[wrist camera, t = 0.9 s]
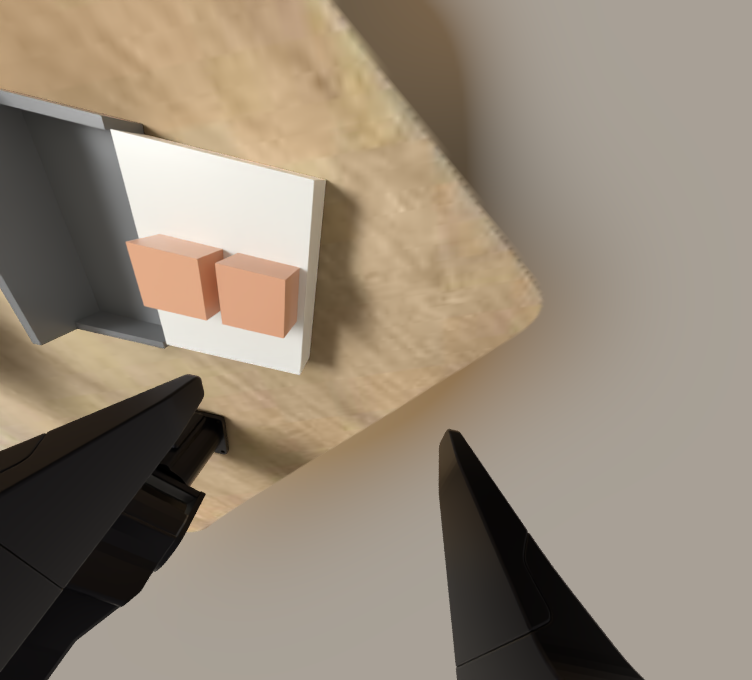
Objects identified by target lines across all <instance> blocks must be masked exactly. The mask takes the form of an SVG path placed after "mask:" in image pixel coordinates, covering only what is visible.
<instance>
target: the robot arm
mask: <svg viewBox="0 0 752 680" xmlns="http://www.w3.org/2000/svg"><path fill="white" fill-rule="evenodd" d="M203 397H204V389H203V385H202V381H201V378H200V377H199V376H195V375H191V374H187V375H184V376H181V377H179V378H176V379H174V380H171V381H169V382H167V383H164V384H162V385H159V386H157V387H155V388H152V389H150V390H147V391H145V392H143V393H140V394H138V395H135V396H133V397H131V398H128V399H126V400H123V401H121V402H118V403H116V404H114V405H111V406H109V407H106V408H104V409H102V410H99V411H97V412H94V413H92V414H90V415H87V416H85V417H82V418H80V419H78V420H75V421H73V422H70V423H68V424H65V425H63V426H61V427H58V428H56V429H53V430H51V431H49V432H47V434H45V433H44V434H41V435H39V436H36V437H34V438H32V439H29V440H27V441H24V442H22V443H19V444H17V445H14V446H12V447H9V448H7V449H4V450H2V451H0V680H48V679H49V677H50V676H51V674H52V673H53V672H54V670H55V669H56V668H57V666H58V665H59V663H60V662H61V661H62V659H63V658H64V656H65V655H66V653H67V652H68V651H69V650H70V648H71V647H72V645H73V644H74V643H75V642H76V641H77V640H78V639H79V638H80V637H82V636H83V635H84V634H85V633H87V632H88V631H89V630H91V629H92V628H93V627H94V626H96V625H97V624H98V623H100V622H101V621H102V620H104V619H105V618H106V617H107V616H109V615H110V614H111V613H112V612H114V611H115V610H116V609H118V608H119V607H122V606H124V605H125V604H126V603H128V602H129V601H130V600H131V599H132V598H133V597H135V596H136V595H137V594H138V593H139V592H140V591H141V590H142V589H143V587H144V585H145V583H146V582H147V580H148V579H149V577H150V575H151V574H152V573H153V571H154V572H155V571H157V570H158V569H159V568H161V567H162V565H164V563H165V562H166V561H167V560H168V559H169V557H170V556H171V555H172V553H173V552H174V551H175V549H176V548H177V547H178V545H179V544H180V542H181V540H182V539H183V537H184V535H185V533H186V531H187V530H188V528H189V526H190V524H191V522H192V520H193V518H194V516H195V514H196V512H197V510H198V508H199V506H200V504H201V502H202V500H203V498H204V497H205V495H206V494H205V493H203V492H202V491H201V492H199V491H197V490H195V489H194V488H192V487H190V486H191V484H192V483H193V481H194V480H195V478H196V477H197V476H198V474H199V473H200V471H201V470H202V469H203V467H204V466H205V464H206V463H207V461H208V460H209V459H210V457H211V456H212V454H213V453H214V452H216V453H220V454H227V452H228V451H229V448H228V441H227V434H226V427H225V421H224V418H222V417H221V416H217V415H212V414H208V413H203V412H199V411H196V409H197V408H198V406H199V404H200V403H201V401H202V399H203ZM439 500H440V510H441V521H442V531H443V541H444V551H445V560H446V570H447V581H448V592H449V601H450V611H451V622H452V631H453V641H454V652H455V662H456V666H457V667H456V674H457V680H644V679H643V677H642V676H641V675H640V674H638V672H637V671H635V669H634V668H633V667H632V666H631V665H630V664H629V663H628V662H627V660H626V659H625V658H624V657H623V656H622V655H621V653H620V652H619V651H618V650H617V648H616V647H615V646H614V645H613V643H612V642H611V641H610V640H609V638H608V637H607V636H606V634H605V633H604V632H603V631H602V629H601V628H600V627H599V626H598V624H597V623H596V622H595V620H594V619H593V618H592V617H591V615H590V614H589V613H588V612H587V610H586V609H585V608H584V607H583V605H582V604H581V603H580V601H579V600H578V599H577V598H576V596H575V595H574V594H573V593H572V591H571V590H570V588H569V587H568V586H567V585H566V583H565V582H564V581H563V579H562V578H561V577H560V575H559V574H558V573H557V571H556V570H555V569H554V567H553V566H552V565H551V563H550V562H549V560H548V559H547V558H546V556H545V555H544V554H543V552H542V551H541V549H540V548H539V546H538V545H537V543H536V542H535V541H534V539H533V538H532V536H531V535H530V534H529V533H528V531H527V529H526V528H525V526H524V525H523V523H522V522H521V520H520V519H519V517H518V516H517V515H516V513H515V512H514V510H513V509H512V507H511V506H510V504H509V503H508V501H507V500H506V499H505V497H504V496H503V494H502V493H501V491H500V490H499V489H498V487H497V486H496V484H495V483H494V481H493V480H492V478H491V477H490V475H489V474H488V472H487V471H486V469H485V468H484V467H483V465H482V464H481V462H480V461H479V459H478V458H477V456H476V455H475V453H474V452H473V450H472V449H471V448H470V446H469V445H468V443H467V442H466V440H465V439H464V437H463V436H462V435H461V433H460V432H459V431H456V430H451V429H448V430H447V431H446V432H445V434H444V436H443V438H442V440H441V442H440V445H439Z"/></svg>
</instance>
